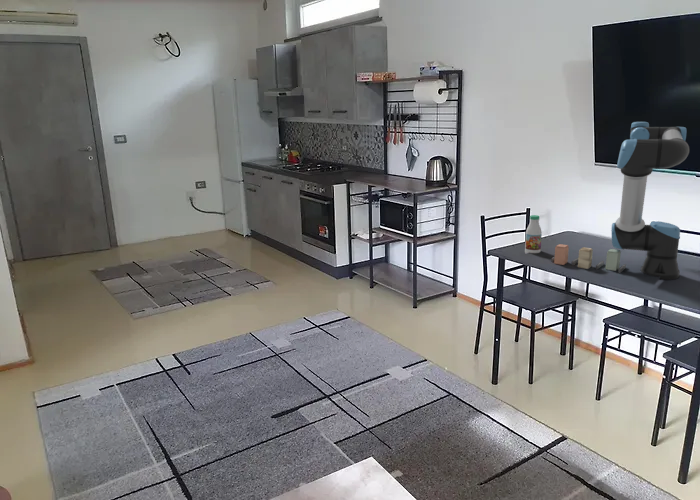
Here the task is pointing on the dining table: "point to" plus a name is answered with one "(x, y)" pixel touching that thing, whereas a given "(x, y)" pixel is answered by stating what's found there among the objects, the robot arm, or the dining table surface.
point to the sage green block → (613, 259)
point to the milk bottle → (533, 236)
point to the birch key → (585, 258)
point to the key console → (596, 265)
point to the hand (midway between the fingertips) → (631, 203)
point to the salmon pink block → (561, 254)
